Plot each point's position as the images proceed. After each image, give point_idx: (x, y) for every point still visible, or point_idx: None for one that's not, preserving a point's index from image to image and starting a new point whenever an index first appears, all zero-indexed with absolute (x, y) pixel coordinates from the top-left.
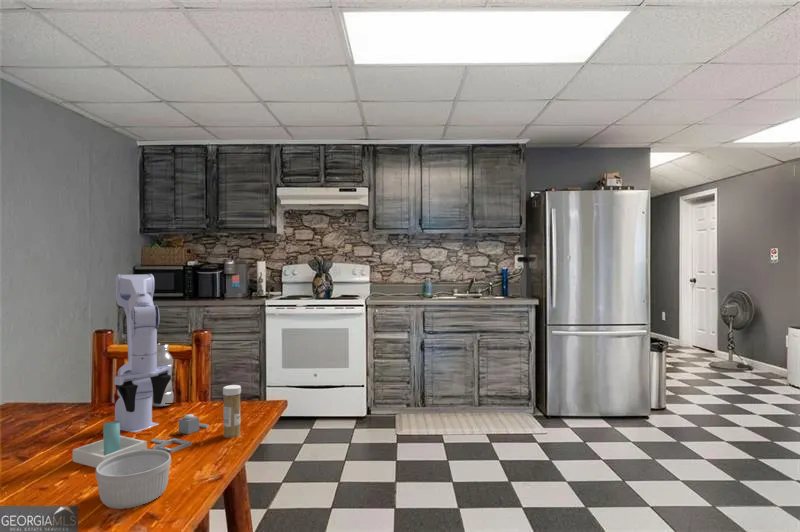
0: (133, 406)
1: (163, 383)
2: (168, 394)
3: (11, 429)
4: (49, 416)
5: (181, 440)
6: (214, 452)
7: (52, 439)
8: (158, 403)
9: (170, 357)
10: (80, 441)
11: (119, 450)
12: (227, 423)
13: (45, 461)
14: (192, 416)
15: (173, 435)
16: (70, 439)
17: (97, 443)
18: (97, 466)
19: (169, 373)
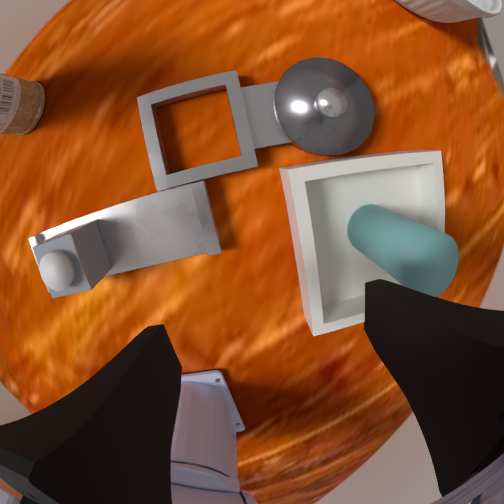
0: (395, 288)
1: (73, 428)
2: None
3: (343, 477)
4: (280, 497)
5: (151, 141)
6: (134, 10)
7: (349, 430)
8: (164, 331)
9: None
10: (332, 399)
11: (394, 163)
12: (12, 83)
13: None
14: (46, 254)
15: (136, 252)
16: (334, 418)
17: None
18: (501, 7)
19: (5, 492)
